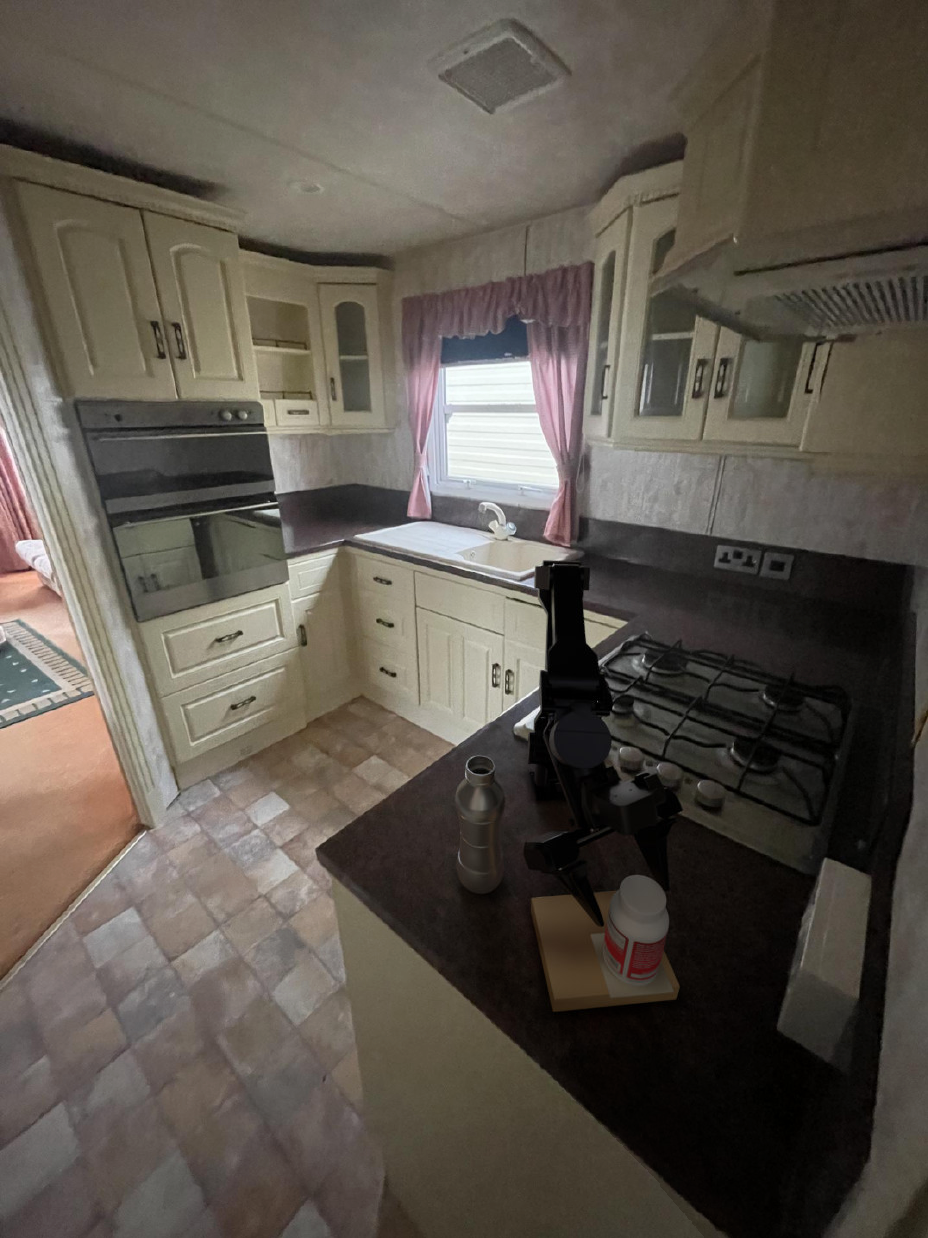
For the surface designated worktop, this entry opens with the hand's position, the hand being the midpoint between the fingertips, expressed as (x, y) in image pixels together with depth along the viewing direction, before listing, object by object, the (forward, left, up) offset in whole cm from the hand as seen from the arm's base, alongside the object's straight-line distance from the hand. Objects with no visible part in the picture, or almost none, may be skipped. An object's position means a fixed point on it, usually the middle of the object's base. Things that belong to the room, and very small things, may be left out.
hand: (634, 907), depth 56 cm
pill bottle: (+1, 0, -8) cm, 8 cm away
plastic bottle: (-13, -15, -11) cm, 23 cm away
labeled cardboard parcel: (-2, -2, -10) cm, 11 cm away
